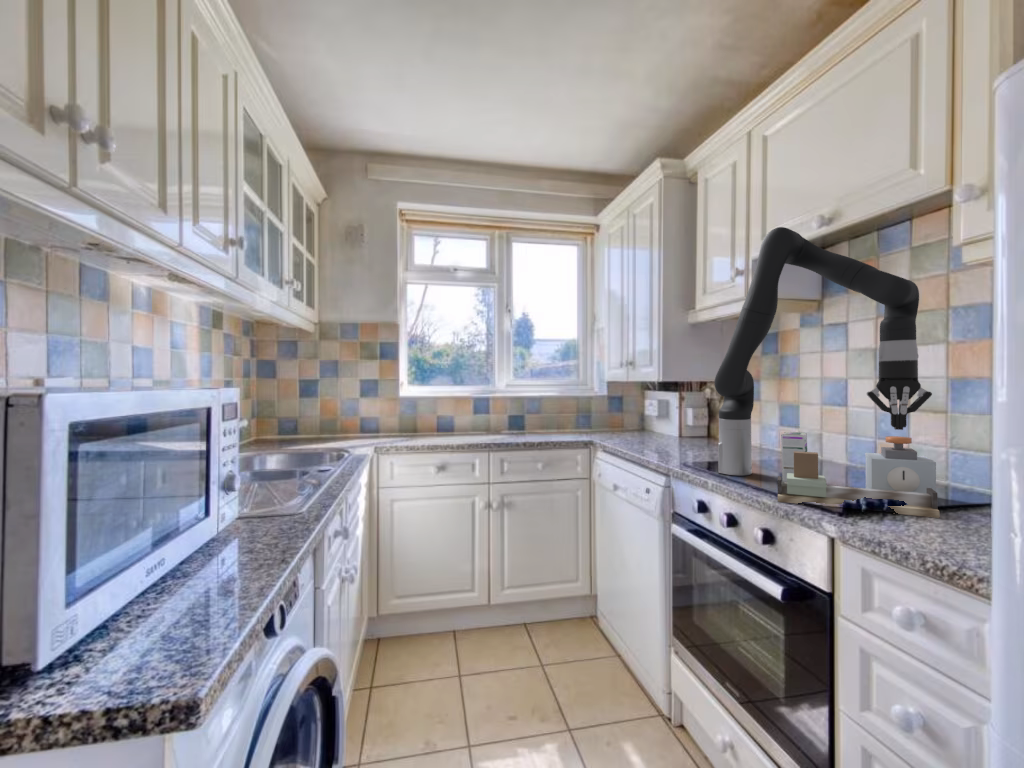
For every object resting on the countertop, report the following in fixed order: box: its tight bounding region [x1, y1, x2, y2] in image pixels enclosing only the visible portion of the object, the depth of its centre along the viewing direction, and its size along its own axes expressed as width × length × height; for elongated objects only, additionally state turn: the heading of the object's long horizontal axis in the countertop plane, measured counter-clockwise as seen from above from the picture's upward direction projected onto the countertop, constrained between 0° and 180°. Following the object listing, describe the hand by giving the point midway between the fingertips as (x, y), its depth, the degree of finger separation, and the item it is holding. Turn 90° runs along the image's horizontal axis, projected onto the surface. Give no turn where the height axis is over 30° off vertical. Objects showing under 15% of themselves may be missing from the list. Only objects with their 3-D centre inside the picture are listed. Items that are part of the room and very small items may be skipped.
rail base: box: [777, 475, 941, 519], centre depth 111 cm, size 30×8×5 cm, turn 60°
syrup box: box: [780, 431, 808, 482], centre depth 132 cm, size 6×6×14 cm
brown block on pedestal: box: [787, 451, 827, 497], centre depth 116 cm, size 8×7×10 cm
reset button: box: [885, 435, 913, 450], centre depth 117 cm, size 5×5×3 cm
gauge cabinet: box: [864, 446, 937, 493], centre depth 117 cm, size 12×11×12 cm
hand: (898, 429), depth 117 cm, fingers closed
